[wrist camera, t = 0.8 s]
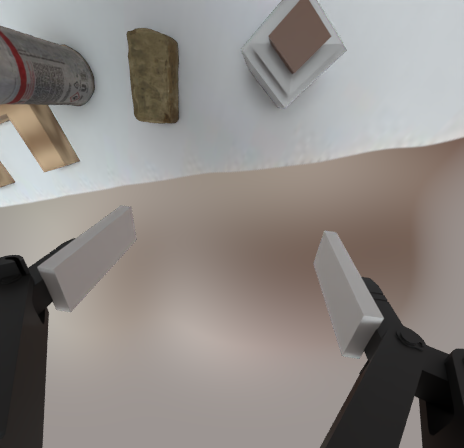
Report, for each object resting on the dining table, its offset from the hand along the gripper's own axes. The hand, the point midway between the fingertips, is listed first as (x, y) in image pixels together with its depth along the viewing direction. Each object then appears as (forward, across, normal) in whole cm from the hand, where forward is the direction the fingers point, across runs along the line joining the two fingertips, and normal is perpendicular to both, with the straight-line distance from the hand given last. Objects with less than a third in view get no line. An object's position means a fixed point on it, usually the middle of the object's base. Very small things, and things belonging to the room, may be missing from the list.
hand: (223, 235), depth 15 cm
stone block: (+27, -14, +10) cm, 32 cm away
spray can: (+27, -29, +9) cm, 41 cm away
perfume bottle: (+27, +4, +12) cm, 30 cm away
